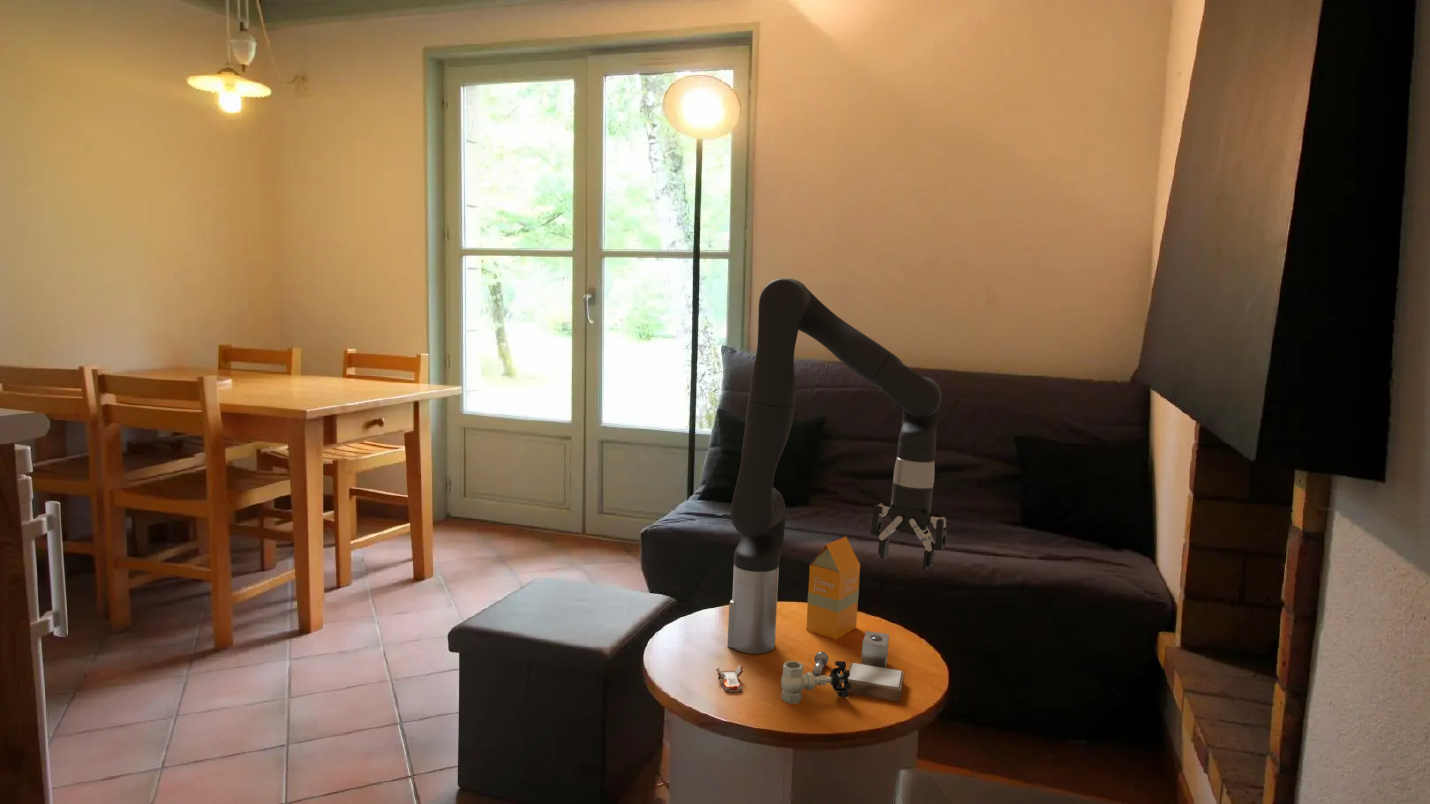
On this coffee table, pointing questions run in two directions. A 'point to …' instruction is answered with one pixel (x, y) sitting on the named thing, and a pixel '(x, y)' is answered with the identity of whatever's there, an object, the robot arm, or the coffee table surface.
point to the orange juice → (833, 590)
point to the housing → (875, 649)
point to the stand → (875, 681)
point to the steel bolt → (820, 663)
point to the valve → (811, 681)
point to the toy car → (730, 679)
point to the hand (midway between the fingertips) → (904, 563)
